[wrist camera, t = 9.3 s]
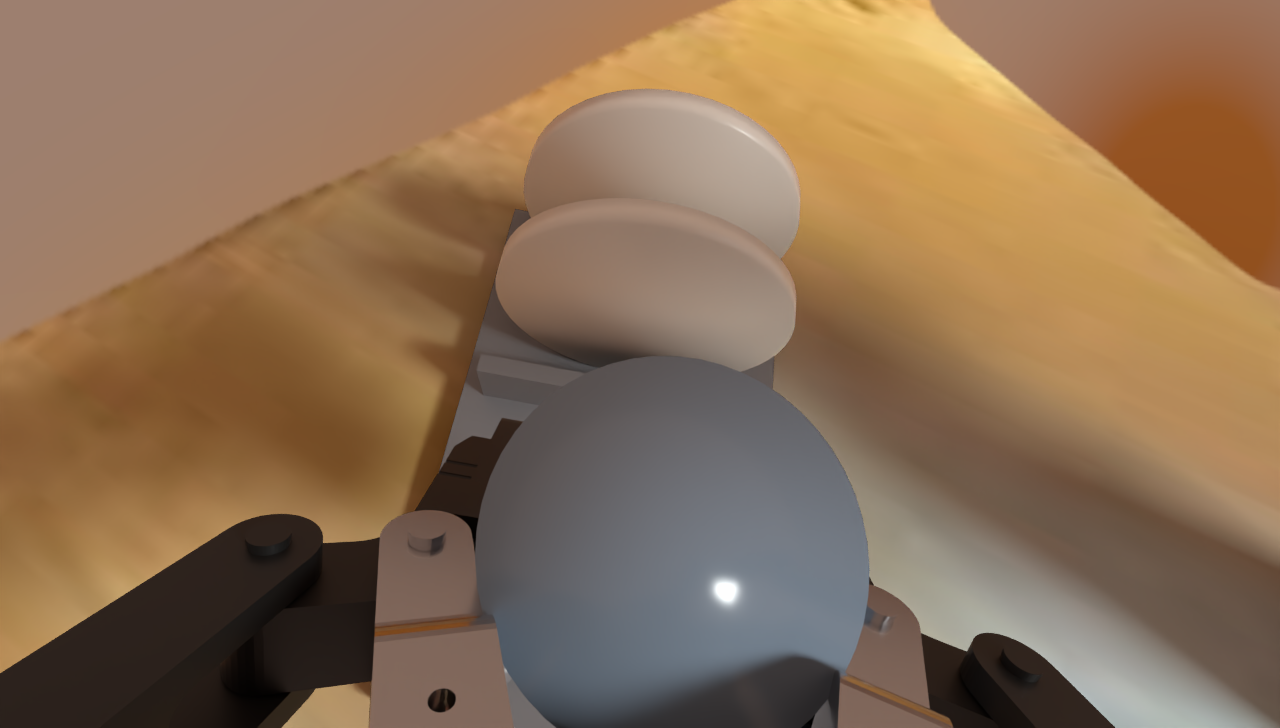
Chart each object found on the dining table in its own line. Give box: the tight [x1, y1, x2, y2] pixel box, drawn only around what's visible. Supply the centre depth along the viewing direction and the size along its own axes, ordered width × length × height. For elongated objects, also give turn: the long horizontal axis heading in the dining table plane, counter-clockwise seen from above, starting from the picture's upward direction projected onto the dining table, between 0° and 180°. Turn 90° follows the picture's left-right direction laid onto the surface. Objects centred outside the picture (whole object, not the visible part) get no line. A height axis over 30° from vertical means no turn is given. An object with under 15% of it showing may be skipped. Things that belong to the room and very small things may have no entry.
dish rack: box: [439, 89, 800, 728], centre depth 23 cm, size 15×24×13 cm, turn 172°
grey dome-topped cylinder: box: [475, 356, 869, 728], centre depth 12 cm, size 5×5×10 cm
